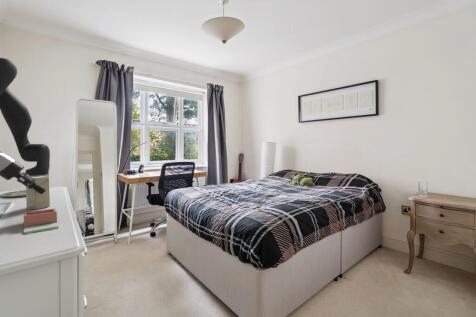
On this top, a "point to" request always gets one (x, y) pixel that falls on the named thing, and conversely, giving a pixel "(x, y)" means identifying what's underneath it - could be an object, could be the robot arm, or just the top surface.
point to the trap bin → (40, 217)
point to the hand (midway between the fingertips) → (43, 191)
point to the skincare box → (36, 197)
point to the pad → (40, 228)
